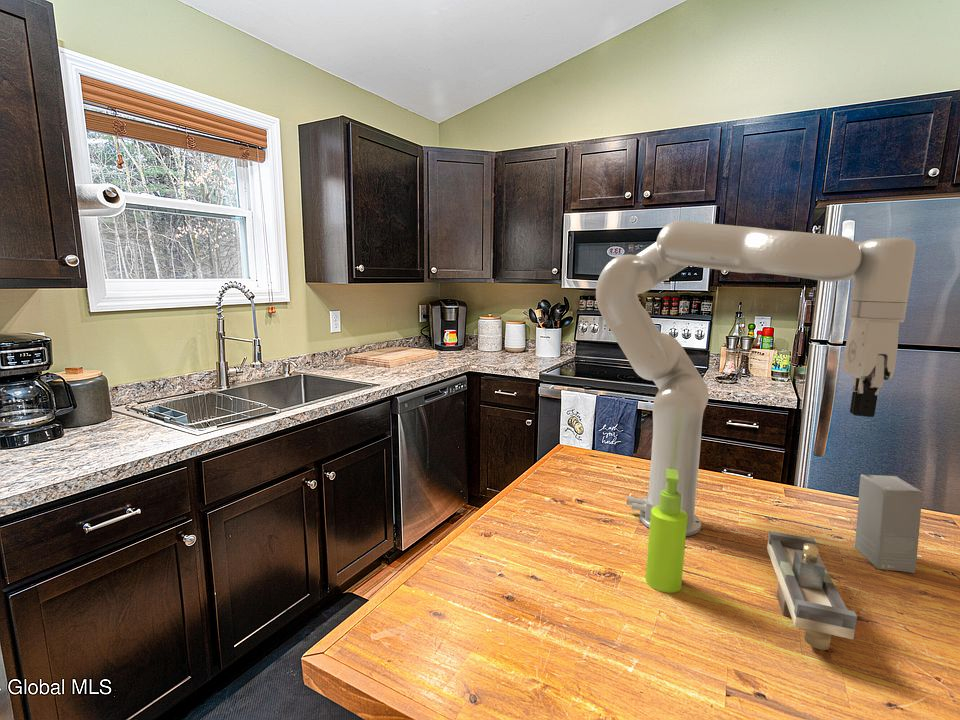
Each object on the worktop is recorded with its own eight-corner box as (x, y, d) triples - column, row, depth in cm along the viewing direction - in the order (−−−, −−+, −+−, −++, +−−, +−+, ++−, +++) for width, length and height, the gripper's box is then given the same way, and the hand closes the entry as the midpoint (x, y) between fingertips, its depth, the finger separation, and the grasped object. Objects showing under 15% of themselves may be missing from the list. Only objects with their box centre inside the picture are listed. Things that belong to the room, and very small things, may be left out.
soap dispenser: (680, 573, 90) (689, 468, 87) (682, 595, 83) (692, 483, 80) (646, 566, 92) (653, 463, 88) (645, 588, 85) (654, 478, 82)
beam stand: (791, 651, 71) (797, 604, 70) (764, 568, 92) (769, 530, 90) (849, 665, 69) (857, 616, 68) (808, 577, 89) (814, 538, 88)
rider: (797, 586, 77) (802, 550, 76) (791, 572, 81) (796, 538, 80) (821, 591, 76) (827, 555, 75) (814, 576, 80) (819, 542, 79)
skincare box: (916, 574, 91) (930, 493, 88) (871, 569, 92) (884, 489, 89) (888, 550, 99) (901, 474, 96) (848, 545, 100) (859, 471, 97)
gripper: (837, 308, 94) (824, 403, 97) (866, 314, 80) (850, 424, 83) (886, 310, 91) (871, 407, 94) (924, 316, 77) (905, 429, 80)
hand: (861, 414), depth 89 cm, fingers closed
